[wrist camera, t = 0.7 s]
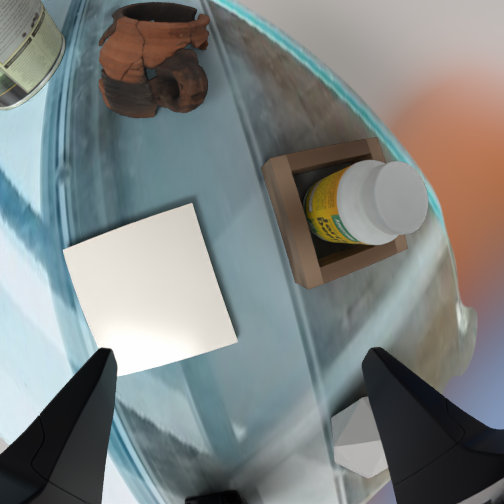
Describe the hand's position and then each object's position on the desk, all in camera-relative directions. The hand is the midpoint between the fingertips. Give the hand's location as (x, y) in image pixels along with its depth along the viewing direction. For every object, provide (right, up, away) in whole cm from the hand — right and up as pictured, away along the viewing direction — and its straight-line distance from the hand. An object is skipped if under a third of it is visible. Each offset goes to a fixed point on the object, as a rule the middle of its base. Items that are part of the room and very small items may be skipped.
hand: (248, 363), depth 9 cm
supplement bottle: (+7, +7, +14) cm, 17 cm away
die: (+11, -13, +16) cm, 24 cm away
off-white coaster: (-8, 0, +12) cm, 14 cm away
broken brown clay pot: (-8, +18, +11) cm, 23 cm away
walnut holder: (+7, +7, +14) cm, 17 cm away
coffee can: (-23, +23, +8) cm, 33 cm away
